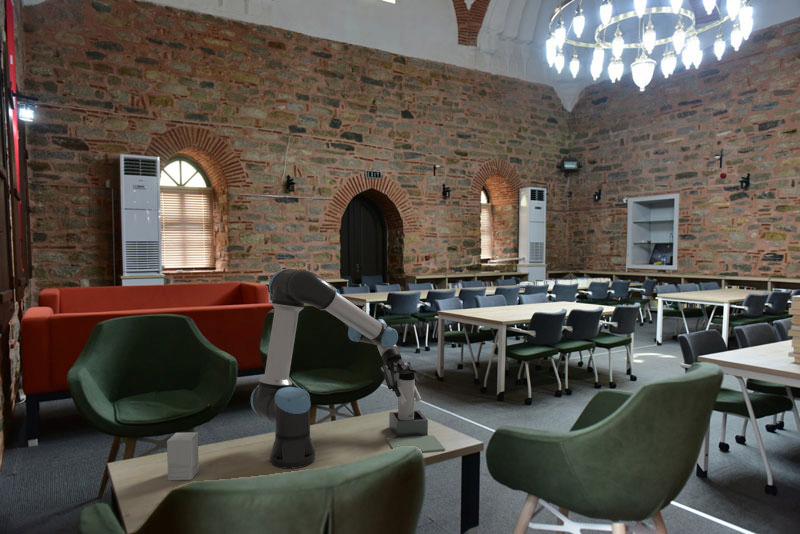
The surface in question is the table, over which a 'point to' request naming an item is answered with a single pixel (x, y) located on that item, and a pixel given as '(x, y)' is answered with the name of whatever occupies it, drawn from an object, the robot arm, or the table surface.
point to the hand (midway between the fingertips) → (411, 401)
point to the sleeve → (408, 425)
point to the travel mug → (406, 395)
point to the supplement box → (182, 456)
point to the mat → (418, 443)
